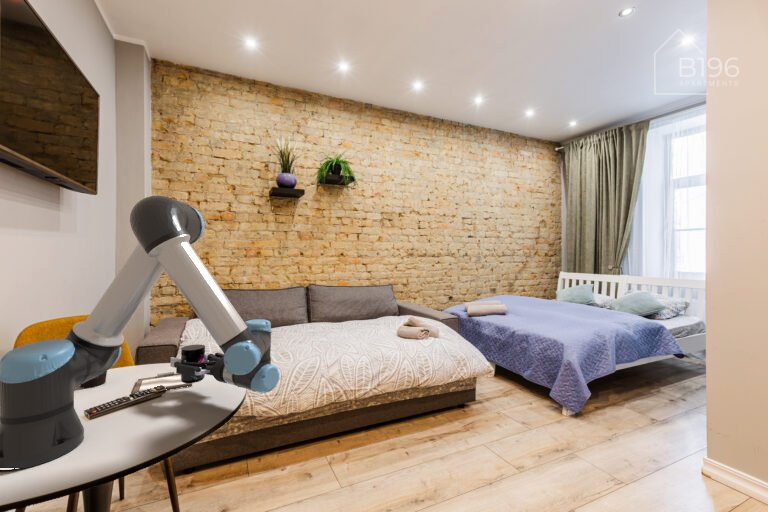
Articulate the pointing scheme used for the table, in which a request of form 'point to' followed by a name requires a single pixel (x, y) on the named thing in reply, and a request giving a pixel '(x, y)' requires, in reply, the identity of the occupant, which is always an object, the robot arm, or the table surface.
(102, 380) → the coffee mug
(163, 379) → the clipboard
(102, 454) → the table surface
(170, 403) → the table surface
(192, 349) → the supplement container
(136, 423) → the table surface
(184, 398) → the table surface
